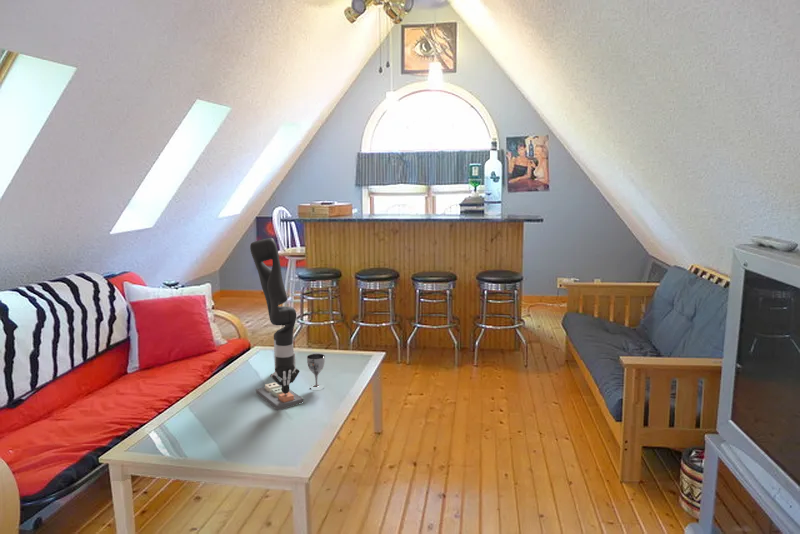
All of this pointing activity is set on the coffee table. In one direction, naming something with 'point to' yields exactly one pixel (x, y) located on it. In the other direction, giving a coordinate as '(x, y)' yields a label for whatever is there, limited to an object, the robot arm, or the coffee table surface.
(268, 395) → the button board
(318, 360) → the wine glass
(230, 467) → the coffee table surface
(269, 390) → the cream button
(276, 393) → the sage button
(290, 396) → the terracotta button
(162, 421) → the coffee table surface
